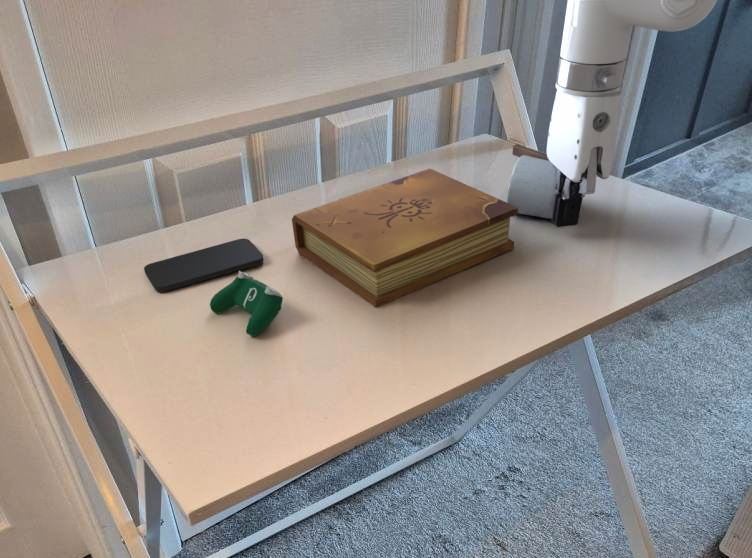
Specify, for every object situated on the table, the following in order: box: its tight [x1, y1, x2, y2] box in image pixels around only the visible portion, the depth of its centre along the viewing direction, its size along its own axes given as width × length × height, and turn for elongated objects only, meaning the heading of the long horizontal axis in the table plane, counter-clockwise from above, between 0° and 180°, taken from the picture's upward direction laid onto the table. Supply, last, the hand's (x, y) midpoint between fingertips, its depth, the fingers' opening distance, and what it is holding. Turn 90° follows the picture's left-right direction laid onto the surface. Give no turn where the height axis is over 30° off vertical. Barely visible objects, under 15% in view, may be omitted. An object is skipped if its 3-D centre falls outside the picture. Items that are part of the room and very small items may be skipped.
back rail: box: [512, 143, 550, 161], centre depth 112 cm, size 14×1×2 cm, turn 38°
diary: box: [291, 168, 519, 308], centre depth 90 cm, size 23×19×6 cm
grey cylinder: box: [506, 155, 558, 220], centre depth 97 cm, size 11×8×8 cm
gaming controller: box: [209, 270, 284, 338], centre depth 81 cm, size 9×4×6 cm
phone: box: [143, 238, 265, 293], centre depth 91 cm, size 7×1×15 cm
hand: (564, 223), depth 93 cm, fingers closed
